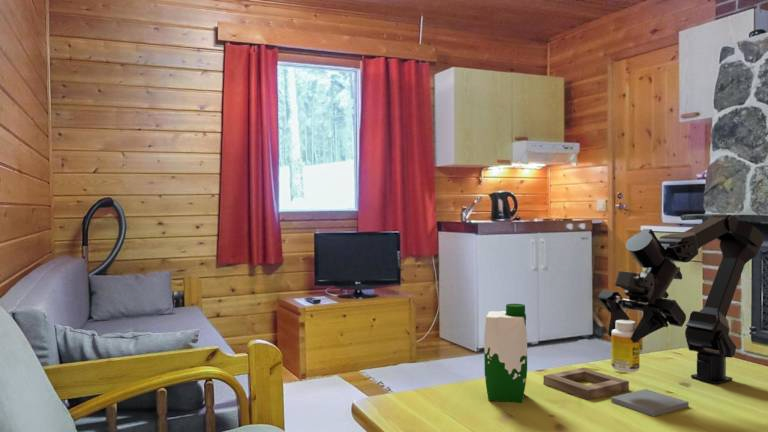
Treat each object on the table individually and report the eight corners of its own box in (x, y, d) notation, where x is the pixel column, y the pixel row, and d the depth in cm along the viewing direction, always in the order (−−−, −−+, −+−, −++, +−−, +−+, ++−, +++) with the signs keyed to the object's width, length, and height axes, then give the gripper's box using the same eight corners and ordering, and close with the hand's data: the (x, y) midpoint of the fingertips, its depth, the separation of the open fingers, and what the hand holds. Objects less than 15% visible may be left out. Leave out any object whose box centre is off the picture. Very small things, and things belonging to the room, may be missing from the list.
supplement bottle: (635, 374, 121) (635, 325, 121) (607, 370, 125) (607, 322, 125) (642, 368, 126) (642, 320, 125) (616, 364, 129) (615, 317, 129)
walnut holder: (583, 375, 143) (583, 367, 143) (628, 390, 131) (628, 381, 131) (543, 384, 136) (543, 375, 136) (588, 399, 125) (588, 390, 125)
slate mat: (645, 393, 129) (645, 388, 129) (688, 406, 120) (688, 401, 120) (611, 402, 123) (611, 397, 123) (653, 416, 115) (653, 411, 115)
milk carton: (526, 405, 122) (526, 308, 122) (482, 401, 125) (482, 307, 124) (528, 392, 131) (527, 302, 130) (486, 389, 133) (486, 301, 133)
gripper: (602, 254, 135) (567, 307, 130) (676, 260, 118) (639, 321, 113) (626, 286, 139) (593, 338, 134) (701, 296, 122) (667, 356, 117)
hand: (621, 338), depth 124 cm, fingers closed on supplement bottle, 5 cm apart
